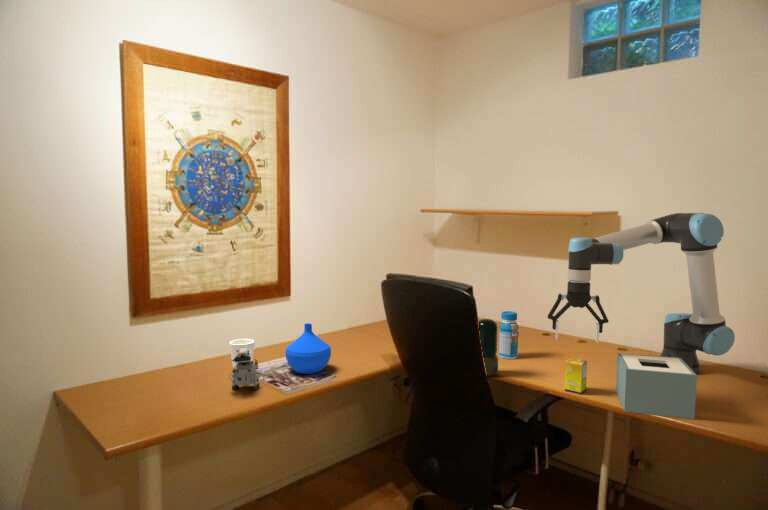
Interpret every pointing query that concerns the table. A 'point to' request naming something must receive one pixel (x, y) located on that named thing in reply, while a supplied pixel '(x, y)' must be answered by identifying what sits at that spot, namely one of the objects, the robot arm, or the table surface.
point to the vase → (308, 353)
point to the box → (656, 385)
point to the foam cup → (239, 344)
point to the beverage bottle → (508, 335)
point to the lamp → (489, 345)
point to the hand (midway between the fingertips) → (576, 340)
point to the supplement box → (575, 375)
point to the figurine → (244, 370)
